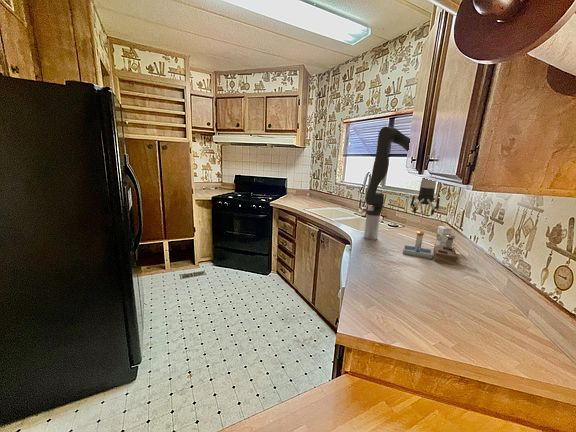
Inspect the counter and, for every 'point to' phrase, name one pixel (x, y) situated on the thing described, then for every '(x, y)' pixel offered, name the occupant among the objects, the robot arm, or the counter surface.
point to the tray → (423, 252)
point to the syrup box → (442, 235)
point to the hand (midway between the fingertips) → (422, 214)
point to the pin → (449, 242)
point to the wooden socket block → (444, 255)
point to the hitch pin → (418, 241)
